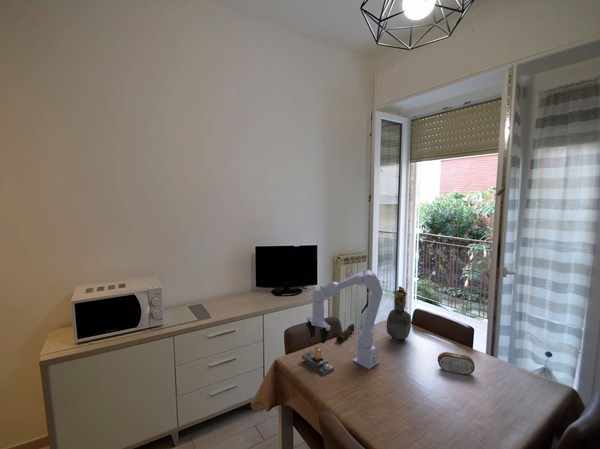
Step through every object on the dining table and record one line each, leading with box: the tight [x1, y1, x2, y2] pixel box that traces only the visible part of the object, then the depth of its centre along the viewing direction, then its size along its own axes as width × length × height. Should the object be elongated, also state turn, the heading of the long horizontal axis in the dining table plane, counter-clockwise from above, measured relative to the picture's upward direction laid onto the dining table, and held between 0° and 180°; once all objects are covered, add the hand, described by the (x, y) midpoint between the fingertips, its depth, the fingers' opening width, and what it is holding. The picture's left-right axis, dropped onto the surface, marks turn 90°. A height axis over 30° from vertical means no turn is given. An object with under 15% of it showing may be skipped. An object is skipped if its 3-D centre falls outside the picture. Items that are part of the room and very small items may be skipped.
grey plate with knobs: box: [301, 350, 335, 376], centre depth 140 cm, size 15×7×3 cm, turn 41°
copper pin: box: [313, 347, 322, 363], centre depth 140 cm, size 3×3×8 cm
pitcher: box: [386, 286, 412, 344], centre depth 167 cm, size 11×19×30 cm, turn 147°
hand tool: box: [336, 323, 355, 344], centre depth 170 cm, size 19×4×5 cm, turn 143°
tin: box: [437, 351, 476, 376], centre depth 136 cm, size 15×3×8 cm, turn 71°
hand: (317, 339), depth 146 cm, fingers open, 7 cm apart
